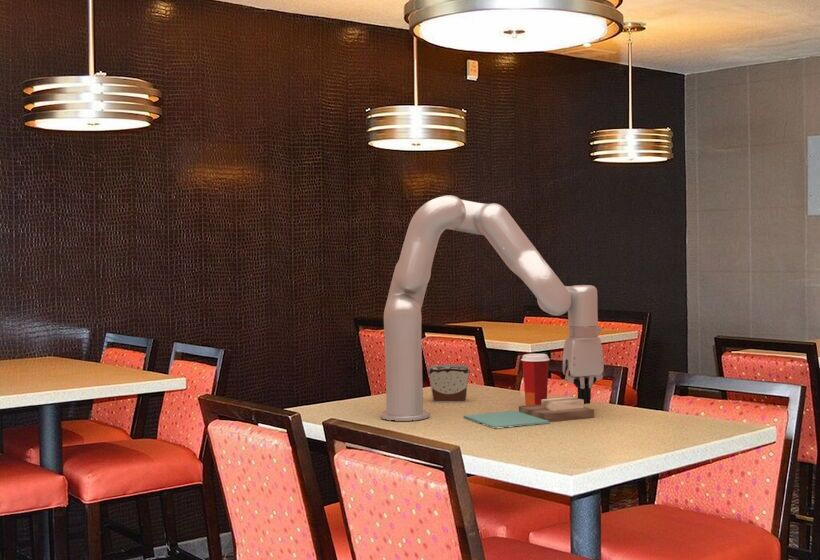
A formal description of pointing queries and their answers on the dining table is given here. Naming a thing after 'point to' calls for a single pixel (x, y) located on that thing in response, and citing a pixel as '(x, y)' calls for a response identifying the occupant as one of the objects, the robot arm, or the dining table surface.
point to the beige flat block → (562, 403)
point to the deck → (557, 413)
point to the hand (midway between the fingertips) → (584, 403)
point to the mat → (506, 419)
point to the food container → (449, 382)
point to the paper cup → (535, 377)
